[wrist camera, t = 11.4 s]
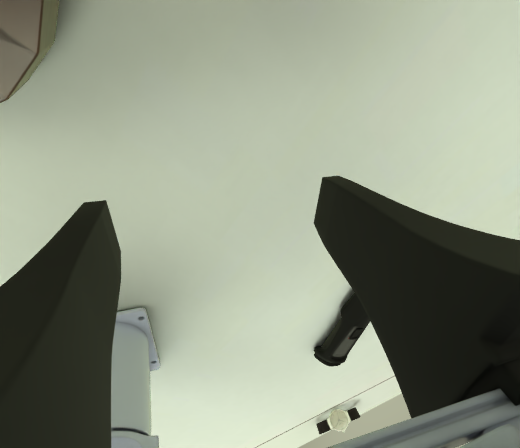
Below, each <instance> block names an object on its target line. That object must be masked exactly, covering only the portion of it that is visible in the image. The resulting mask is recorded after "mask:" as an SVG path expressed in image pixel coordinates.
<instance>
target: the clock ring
mask: <svg viewBox="0 0 520 448" xmlns="http://www.w3.org/2000/svg"><path fill="white" fill-rule="evenodd" d="M58 8H59V0H0V103H2V102H4V101H6V100H8V99H9V98H10V97H11V96H12V95H13V94H14V93H15V92H16V91H17V90H18V89H19V88H20V87H21V86H23V85H24V84H25V83H26V82H27V81H28V80H29V78H30V77H31V75H32V74H33V73H34V71H35V70H36V68H37V67H38V65H39V64H40V62H41V61H42V60H43V58H44V57H45V55H46V54H47V52H48V51H49V49H50V48H51V47H52V45H53V44H54V41H55V36H56V27H57V17H58Z"/></svg>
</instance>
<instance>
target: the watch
mask: <svg viewBox="0 0 520 448" xmlns="http://www.w3.org/2000/svg"><path fill="white" fill-rule="evenodd" d="M359 417H360V415H359V413H358V411H357V409H356V408H352V409H350V410H348V411H347V410H346V411H343V410H340V409H335V410H333V411H332V412H331V413H330V415H329V418H327V419H326V420H324V421H322V422H320V423H317V424H316V425H317V428H318V431H319V434H322V433H324V432H327V431H329V430H332V429H334V430H336V431H340V432H341V431H343V433H344V430H345V429H346V428H347V427H348V425H349V422H351V421H352V420H355V419H357V418H359Z"/></svg>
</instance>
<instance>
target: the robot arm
mask: <svg viewBox="0 0 520 448" xmlns="http://www.w3.org/2000/svg"><path fill="white" fill-rule="evenodd" d="M314 225H315V227H316V229H317V231H318V234H319V236H320V238H321V240H322V242H323V244H324V246H325V248H326V249H327V251H328V252H329V254H330V255H331V257H332V258H333V260H334V262H335V263H336V265H337V266H338V268H339V269H340V271H341V272H342V274H343V275H344V277H345V278H346V280H347V281H348V283H349V284H350V286H351V287H352V289H353V290H354V292H355V293H356V295H357V297H358V298H359V300H360V302H361V304H362V306H363V308H364V310H365V311H366V313H367V315H368V317H369V319H370V321H371V323H372V325H373V327H374V329H375V332H376V334H377V336H378V338H379V340H380V342H381V344H382V346H383V348H384V351H385V353H386V355H387V358H388V360H389V362H390V365H391V367H392V369H393V372H394V374H395V376H396V379H397V381H398V384H399V386H400V389H401V392H402V394H403V397H404V399H405V402H406V404H407V407H408V410H409V413H410V415H411V418H412V419H409V420H406V421H403V422H400V423H397V424H394V425H391V426H389V427H386V428H383V429H380V430H377V431H374V432H371V433H368V434H365V435H362V436H360V437H357V438H354V439H351V440H348V441H345V442H342V443H339V444H336V445H333V446H330V447H328V448H455V447H458V446H460V445H463V444H466V443H467V444H466V445H464V446H462V447H460V448H520V240H515V239H510V238H505V237H501V236H497V235H492V234H488V233H485V232H481V231H477V230H473V229H470V228H466V227H463V226H459V225H456V224H453V223H450V222H447V221H444V220H441V219H438V218H435V217H432V216H429V215H427V214H424V213H422V212H419V211H417V210H414V209H412V208H409V207H407V206H405V205H402V204H400V203H398V202H396V201H393V200H391V199H389V198H387V197H385V196H383V195H380V194H378V193H376V192H374V191H372V190H370V189H368V188H366V187H363V186H361V185H359V184H357V183H355V182H353V181H350V180H348V179H345V178H343V177H340V176H331V177H322V183H321V188H320V193H319V198H318V204H317V209H316V214H315V219H314ZM120 283H121V250H120V247H119V243H118V240H117V236H116V233H115V229H114V226H113V222H112V219H111V215H110V212H109V209H108V205H107V202H106V200H104V201H95V202H85V203H83V204H82V205H81V206H80V208H79V209H78V210H77V211H76V212H75V213H74V214H73V215H72V217H71V218H70V219H69V220H68V221H67V222H66V223H65V225H64V226H63V227H62V228H61V229H60V230H59V231H58V232H57V233H56V235H55V236H54V237H53V238H52V239H51V240H50V241H49V242H48V243H47V244H46V245H45V246H44V247H43V248H42V249H41V250H40V251H39V252H38V253H37V254H36V255H35V256H34V257H33V258H32V259H31V260H30V261H29V262H28V263H27V264H26V265H25V266H24V267H23V268H22V269H20V270H19V271H18V272H17V273H16V274H15V275H14V276H13V277H11V278H10V279H9V280H8V281H7V282H6V283H4V284H3V285H2V286H1V287H0V448H159V438H158V436H151V390H150V371H153V370H157V369H159V368H160V361H159V357H158V353H157V349H156V345H155V342H154V338H153V334H152V330H151V326H150V322H149V319H148V315H147V311H146V309H144V308H135V309H130V310H125V311H120V312H117V307H118V300H119V292H120ZM468 442H469V443H468Z"/></svg>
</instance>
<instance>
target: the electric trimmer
mask: <svg viewBox="0 0 520 448" xmlns="http://www.w3.org/2000/svg"><path fill="white" fill-rule="evenodd" d="M369 322H370V319H369V317H368V315H367V313H366V311H365V310H364V308H363V306H362V304H361V302H360V300H359V298H358V297H357V295H356V293H354V294H353V295H352V296H351V298H350V299H349V300H348V301H347V303H346V304H345V305H344V306H343V308H342V309H341V319H340V320H339V322H338V323H337V325H336V326H335V328H334V329H333V331H332V332H331V334H330V335H329V337H328V338H327V339H326V341H325V342H324V344H323V345H322V347H316V348H315V349H314V352H315V354H314V356H315V358H317V359H318V360H319V361H320V362H322V363H323V364H325V365H327V366H338V365H340V364H341V363H344V362H345V360H346V358H347V355H348V353H349V352H350V350H351V349H352V347H353V346H354V344H355V343H356V341H357V340H358V338H359V337H360V336H361V334H362V333H363V331H364V330H365V328H366V327H367V325H368V324H369Z"/></svg>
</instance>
